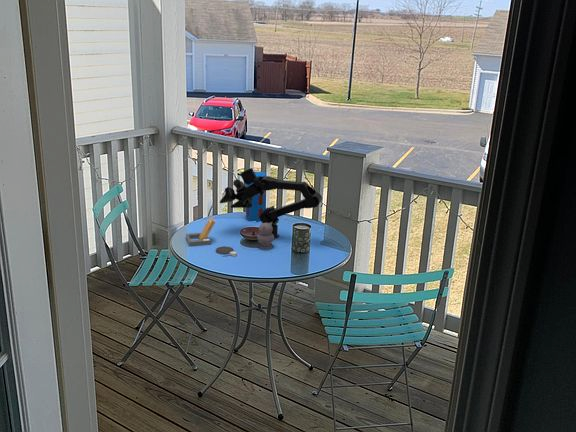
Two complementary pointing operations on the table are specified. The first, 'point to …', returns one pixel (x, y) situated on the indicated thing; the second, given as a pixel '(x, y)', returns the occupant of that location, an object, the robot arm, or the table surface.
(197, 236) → the breaker housing
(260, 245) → the cat figurine
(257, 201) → the thermos
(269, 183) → the robot arm
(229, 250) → the ping pong paddle
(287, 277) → the table surface
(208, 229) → the block
